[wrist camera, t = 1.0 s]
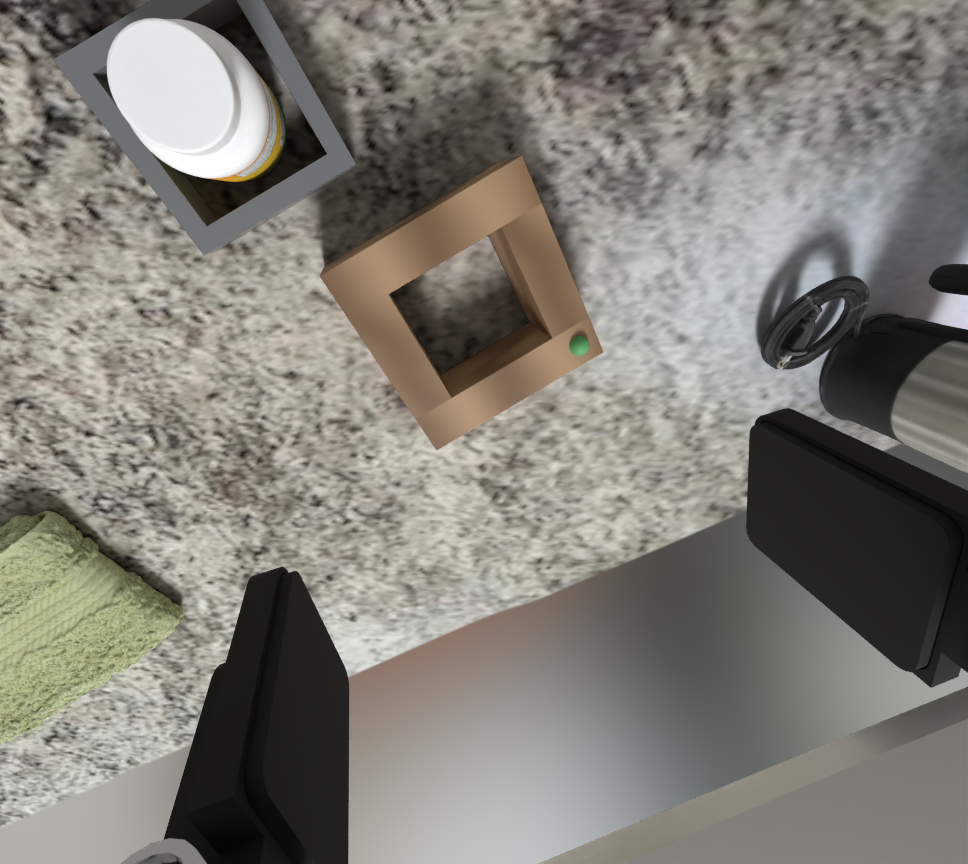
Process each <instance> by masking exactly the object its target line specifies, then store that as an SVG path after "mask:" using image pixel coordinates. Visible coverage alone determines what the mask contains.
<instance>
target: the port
mask: <svg viewBox="0 0 968 864" xmlns="http://www.w3.org/2000/svg"><path fill="white" fill-rule="evenodd" d="M487 235H488V237H489V239H490V241H491V243H492V245H493V247H494V249H495V251H496V253H497V255H498V257H499V259H500V262H501V264H502V266H503V268H504V270H505V272H506V274H507V276H508V278H509V280H510V282H511V284H512V287H513V289H514V291H515V293H516V295H517V297H518V299H519V301H520V303H521V305H522V307H523V309H524V312H525V314H526V316H527V318H528V320H529V322H530V323H528V324H526V325H524V326H523V327H521V328H519V329H518V330H516V331H514V332H513V333H511V334H509V335H508V336H506V337H504V338H502V339H501V340H499V341H497V342H496V343H494V344H492V345H491V346H489V347H487V348H486V349H484V350H482V351H480V352H479V353H477V354H475V355H474V356H472V357H470V358H469V359H467V360H465V361H464V362H462V363H460V364H459V365H457V366H455V367H453V368H452V369H450V370H448V371H447V372H445V373H443V374H442V375H440V373H439V372H438V370H437V368H436V367H435V365H434V364H433V362H432V360H431V359H430V357H429V355H428V354H427V352H426V350H425V349H424V347H423V346H422V344H421V342H420V341H419V339H418V337H417V336H416V334H415V332H414V331H413V329H412V327H411V326H410V324H409V323H408V321H407V319H406V318H405V316H404V314H403V313H402V311H401V309H400V308H399V306H398V304H397V303H396V301H395V300H394V298H393V296H392V295H391V293H392V292H393V291H395V290H397V289H398V288H400V287H402V286H403V285H405V284H407V283H408V282H410V281H412V280H413V279H415V278H417V277H418V276H420V275H422V274H423V273H425V272H427V271H428V270H430V269H432V268H434V267H435V266H437V265H439V264H440V263H442V262H444V261H445V260H447V259H449V258H450V257H452V256H454V255H455V254H457V253H459V252H460V251H462V250H464V249H465V248H467V247H469V246H471V245H472V244H474V243H476V242H477V241H479V240H481V239H482V238H484V237H486V236H487ZM320 277H321V279H322V280H323V282H324V283H325V285H326V286H327V288H328V289H329V291H330V292H331V294H332V295H333V297H334V298H335V300H336V301H337V303H338V304H339V305H340V307H341V308H342V310H343V311H344V313H345V314H346V316H347V317H348V319H349V320H350V322H351V323H352V325H353V326H354V328H355V329H356V331H357V332H358V334H359V335H360V337H361V338H362V340H363V341H364V343H365V344H366V346H367V347H368V349H369V350H370V352H371V353H372V355H373V356H374V358H375V359H376V361H377V362H378V364H379V365H380V367H381V368H382V370H383V371H384V373H385V374H386V376H387V377H388V379H389V380H390V382H391V383H392V385H393V386H394V388H395V389H396V391H397V392H398V394H399V395H400V396H401V398H402V399H403V401H404V402H405V404H406V405H407V407H408V408H409V410H410V411H411V413H412V414H413V416H414V417H415V419H416V420H417V422H418V423H419V425H420V426H421V428H422V429H423V431H424V432H425V434H426V435H427V437H428V438H429V440H430V441H431V443H432V444H433V446H434V447H435V449H436V450H438V449H440V448H441V447H443V446H445V445H447V444H448V443H450V442H452V441H453V440H455V439H457V438H458V437H460V436H462V435H464V434H465V433H467V432H469V431H470V430H472V429H474V428H475V427H477V426H479V425H480V424H482V423H484V422H486V421H487V420H489V419H491V418H492V417H494V416H496V415H497V414H499V413H501V412H503V411H504V410H506V409H508V408H509V407H511V406H513V405H514V404H516V403H518V402H520V401H521V400H523V399H525V398H526V397H528V396H530V395H531V394H533V393H535V392H537V391H538V390H540V389H542V388H543V387H545V386H547V385H548V384H550V383H552V382H553V381H555V380H557V379H559V378H560V377H562V376H564V375H565V374H567V373H569V372H570V371H572V370H574V369H576V368H577V367H579V366H581V365H582V364H584V363H586V362H587V361H589V360H591V359H593V358H594V357H596V356H598V355H599V354H601V353H603V350H602V347H601V345H600V343H599V340H598V338H597V335H596V333H595V331H594V328H593V326H592V323H591V321H590V318H589V316H588V314H587V311H586V309H585V306H584V304H583V302H582V299H581V297H580V294H579V292H578V289H577V287H576V285H575V282H574V280H573V277H572V275H571V273H570V270H569V268H568V265H567V263H566V261H565V258H564V256H563V253H562V251H561V248H560V246H559V244H558V241H557V239H556V236H555V234H554V232H553V229H552V227H551V224H550V222H549V220H548V217H547V215H546V212H545V210H544V207H543V205H542V203H541V200H540V198H539V195H538V193H537V191H536V188H535V186H534V183H533V181H532V179H531V176H530V174H529V171H528V169H527V166H526V164H525V162H524V159H523V157H522V156H518V157H515V158H511V159H507V160H503V161H500V162H498V163H496V164H495V165H493V166H491V167H490V168H488V169H486V170H485V171H483V172H481V173H480V174H478V175H476V176H475V177H473V178H471V179H470V180H468V181H466V182H465V183H463V184H461V185H459V186H458V187H456V188H454V189H453V190H451V191H449V192H448V193H446V194H444V195H443V196H441V197H439V198H438V199H436V200H434V201H433V202H431V203H429V204H428V205H426V206H424V207H423V208H421V209H419V210H418V211H416V212H414V213H413V214H411V215H409V216H408V217H406V218H404V219H403V220H401V221H399V222H398V223H396V224H394V225H392V226H391V227H389V228H387V229H386V230H384V231H382V232H381V233H379V234H377V235H376V236H374V237H372V238H371V239H369V240H367V241H366V242H364V243H362V244H361V245H359V246H357V247H356V248H354V249H352V250H351V251H349V252H347V253H346V254H344V255H342V256H341V257H339V258H337V259H336V260H334V261H332V262H331V263H329V264H327V265H325V266H324V268H323V270H322V273H321V275H320Z"/></svg>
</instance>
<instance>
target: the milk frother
mask: <svg viewBox="0 0 968 864" xmlns="http://www.w3.org/2000/svg"><path fill="white" fill-rule="evenodd" d="M929 284H930V285H931V287H933V288H934V289H936V290H938V291H941V292H945V293H952V294H960V295H968V265H967V264H950V265H944V266H940V267H939V268H937V269H936V270H935V271H934V272H933V273H932V275H931V277H930V278H929ZM841 297H842V298H844V300H845V304H844V310H843V312H842V314H841V316H840V318H839V319H838V321H837V322H836V324H835V325H834V326H833V327H832V328H831V329H830V330H829V331H828V332H827V333H826V334H825V335H824V336H823V337H822V338H821V339H820V340H818V341H817V342H816V343H814V344H813V345H811V346H810V347H808V348H805V347H806V345H807V344H808V342H809V340H810V338H811V335H812V333H813V329H814V327H815V324H816V323H815V320H816V318H817V316H818V315H819V313H820V312H822V308H821V306H822V305H823V304H824V303H826V302H828V301H830V300H833V299H836V298H841ZM868 298H869V290H868V287H867V286H866V285H865V284H864V282H863V281H862V280H861V279H859V278H857V277H854V276H844V277H839V278H836V279H833V280H830V281H828V282H825V283H823V284H821V285H819V286H818V287H816V288H814V289H812V290H811V291H809V292H808V293H806V294H805V295H803V296H802V297H800V298H799V299H798V300H796V301H795V302H794V303H793V304H791V305H790V306H789V307H788V308H787V309H786V310H785V311H784V312H783V313H782V314H781V315H780V316H779V317H778V318H777V319H776V320H775V321H774V322H773V324H772V325H771V326H770V328H769V329H768V331H767V333H766V335H765V337H764V339H763V342H762V347H761V355H762V358H763V359H764V361H765V362H766V363H767V364H769V365H770V366H772V367H773V368H775V369H779V370H783V369H787V370H788V369H794V368H798V367H802V366H804V365H806V364H808V363H810V362H812V361H813V360H815V359H816V358H818V357H819V356H821V355H822V354H824V353H825V352H826V351H827V350H829V349H830V348H831V347H832V346H833V345H834V344H835V343H837V342H838V341H839V340H840V339H841V338H842V337H843V336H844V335H845V333H846V332H847V331H848V330H849V329H850V328H851V326H852V325H853V324H854V322H855V321H856V323H855V327H854V328H853V329H852V330H851V331H850V332H849V333H848V334H846V336H845V337H844V338H842V340H841V341H840V342H839V343H838V344H837V346H836V348H835V349H834V350H833V351H832V353H831V356H830V358H829V359H828V361H827V363H826V365H825V367H824V370H823V374H822V377H821V383H820V394H821V400H822V403H823V406H824V408H825V409H826V410H827V412H828V413H830V414H831V415H832V416H834V417H836V418H838V419H841V420H849V421H853V422H855V423H857V424H860V425H862V426H865V427H867V428H870V429H872V430H874V431H877V432H879V433H881V434H884V435H886V436H888V437H891V438H893V439H895V440H897V441H899V442H901V443H903V444H907V445H908V446H911V447H913V448H915V449H917V450H919V451H921V452H923V453H925V454H927V455H930V456H932V457H934V458H936V459H938V460H941V461H943V462H945V463H947V464H949V465H951V466H954V467H956V468H958V469H960V470H962V471H965V472H967V473H968V330H966V329H961V328H955V327H950V326H946V325H941V324H938V323H933V322H928V321H924V320H920V319H915V318H905V317H903V316H899V315H895V314H884V315H879V316H875V317H872V318H870V319H868V320H866V321H864V322H863V323H862V320H863V318H864V315H865V313H866V310H867V305H868Z"/></svg>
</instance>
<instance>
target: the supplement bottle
mask: <svg viewBox="0 0 968 864" xmlns="http://www.w3.org/2000/svg"><path fill="white" fill-rule="evenodd" d="M107 77H108V83H109V87H110V91H111V93H112V96H113V98H114V100H115V103H116V105H117V107H118V108H119V110H120V112H121V113H122V115H123V116H124V117H125V119H126V120H127V121H128V122H129V124H130V126H131V128H132V129H133V131H134V132H135V134H136V135H137V136H138V138H139V139H140V140H141V141H142V143H143V144H144V145H145V146H146V147H147V148H148V149H149V150H150V151H151V152H152V153H153V154H154V155H155V156H157V157H158V158H159V159H160V160H162V161H163V162H165V163H166V164H168V165H169V166H171V167H173V168H175V169H177V170H179V171H181V172H184V173H187V174H190V175H193V176H197V177H201V178H208V179H215V180H222V181H229V182H249V181H253V180H256V179H259V178H261V177H263V176H265V175H266V174H267V173H269V172H270V171H271V170H272V169H273V168H274V167H275V166H276V165H277V163H278V162H279V160H280V158H281V156H282V153H283V150H284V146H285V139H286V129H285V122H284V117H283V114H282V111H281V108H280V106H279V104H278V102H277V100H276V98H275V96H274V94H273V93H272V91H271V90H270V88H269V87H268V86H267V84H266V83H265V82H264V81H263V79H262V78H261V77H260V75H259V74H258V73H257V72H256V70H255V69H254V68H253V66H252V65H251V64H250V63H249V61H248V60H247V59H246V58H245V57H244V56H243V55H242V53H241V52H240V51H239V50H238V49H237V48H236V47H235V46H234V45H232V44H231V43H230V42H229V41H228V40H227V39H225V38H224V37H223V36H221V35H220V34H218V33H217V32H215V31H213V30H212V29H210V28H208V27H206V26H203V25H201V24H198V23H195V22H191V21H187V20H182V19H161V18H146V19H142V20H138V21H135V22H133V23H131V24H129V25H127V26H126V27H125V28H123V29H122V30H121V31H120V32H119V33H118V34H117V35H116V37H115V39H114V40H113V42H112V44H111V46H110V49H109V52H108V58H107Z"/></svg>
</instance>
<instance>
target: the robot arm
mask: <svg viewBox="0 0 968 864" xmlns="http://www.w3.org/2000/svg"><path fill="white" fill-rule="evenodd" d="M746 530H747V534H748V537H749V539H750V541H751V542H752V543H753V544H754V546H755V547H757V548H758V549H759V550H760V551H761V552H763V553H764V554H765V555H766V556H767V557H769V558H770V559H771V560H772V561H773V562H774V563H776V564H777V565H778V566H779V567H780V568H781V569H783V570H784V571H785V572H786V573H788V574H789V575H790V576H791V577H792V578H793V579H794V580H796V581H797V582H798V583H799V584H800V585H802V586H803V587H804V588H805V589H806V590H807V591H809V592H810V593H811V594H812V595H813V596H815V597H816V598H817V599H818V600H819V601H820V602H822V603H823V604H824V605H825V606H826V607H828V608H829V609H830V610H831V611H832V612H833V613H835V614H836V615H837V616H838V617H839V618H841V619H842V620H843V621H844V622H845V623H846V624H848V625H849V626H850V627H851V628H852V629H854V630H855V631H856V632H857V633H858V634H859V635H861V636H862V637H863V638H864V639H865V640H867V641H868V642H869V643H870V644H871V645H872V646H874V647H875V648H876V649H877V650H879V651H880V652H881V653H882V654H883V655H884V656H886V657H887V658H888V659H889V660H890V661H891V662H893V663H894V664H895V665H896V666H898V667H899V668H901V669H903V670H905V671H909V672H913V673H914V674H915V675H916V676H917V677H919V678H920V679H921V680H922V681H924V682H925V683H926V684H927V685H928V686H929V687H931V688H932V687H934V686H936V685H939V684H941V683H944V682H946V681H949V680H951V679H954V678H956V677H958V676H959V672H960V669H961V668H962V669H964V670H965V671H966V672H968V491H967V490H965V489H963V488H961V487H959V486H956V485H954V484H952V483H950V482H948V481H946V480H943V479H941V478H939V477H937V476H935V475H933V474H930V473H928V472H926V471H924V470H922V469H920V468H918V467H915V466H913V465H911V464H909V463H907V462H905V461H903V460H900V459H898V458H896V457H894V456H892V455H889V454H887V453H885V452H883V451H881V450H879V449H877V448H875V447H872V446H870V445H868V444H866V443H864V442H862V441H859V440H857V439H855V438H853V437H851V436H849V435H847V434H844V433H842V432H840V431H838V430H836V429H834V428H831V427H829V426H827V425H825V424H823V423H821V422H818V421H816V420H814V419H812V418H810V417H808V416H806V415H803V414H801V413H799V412H797V411H795V410H792V409H789V408H787V409H782V410H778V411H775V412H772V413H769V414H766V415H762V416H760V417H759V418H757V420H756V422H755V425H754V426H753V427H752V428H751V430H750V439H749V467H748V494H747V523H746ZM348 786H349V682H348V676H347V672H346V669H345V666H344V664H343V662H342V660H341V658H340V656H339V654H338V652H337V650H336V648H335V646H334V644H333V642H332V640H331V638H330V635H329V633H328V631H327V629H326V627H325V625H324V623H323V621H322V619H321V617H320V615H319V613H318V611H317V609H316V607H315V605H314V603H313V601H312V598H311V596H310V594H309V592H308V590H307V588H306V586H305V584H304V582H303V580H302V578H301V576H300V574H299V573H298V572H297V571H293V572H290V573H288V571H287V570H286V569H285V568H284V567H280V568H276V569H273V570H270V571H267V572H264V573H260V574H257V575H254V576H252V577H250V579H249V581H248V584H247V587H246V591H245V595H244V598H243V602H242V606H241V609H240V613H239V617H238V620H237V624H236V627H235V631H234V635H233V638H232V642H231V646H230V649H229V653H228V656H227V660H226V663H223V664H220V665H219V666H218V667H217V668H216V669H215V671H214V674H213V676H212V678H211V682H210V685H209V688H208V692H207V695H206V698H205V702H204V705H203V709H202V712H201V715H200V719H199V722H198V725H197V729H196V732H195V736H194V739H193V742H192V746H191V749H190V752H189V756H188V759H187V763H186V766H185V769H184V773H183V776H182V779H181V783H180V786H179V789H178V793H177V796H176V800H175V803H174V807H173V810H172V813H171V816H170V820H169V823H168V827H167V830H166V833H165V837H164V840H161V841H158V842H155V843H151V844H149V845H148V846H146V847H144V848H143V849H141V850H139V851H138V852H136V853H134V854H132V855H131V856H130V857H128V858H127V859H126V860H125V861H124V862H123V863H121V864H348V802H349V797H348V796H349V787H348ZM539 864H968V687H966V688H964V689H961V690H959V691H957V692H954V693H951V694H949V695H947V696H944V697H942V698H939V699H937V700H934V701H932V702H929V703H927V704H924V705H922V706H919V707H917V708H914V709H912V710H910V711H907V712H905V713H902V714H900V715H897V716H895V717H892V718H890V719H887V720H885V721H882V722H880V723H877V724H875V725H873V726H870V727H867V728H865V729H863V730H860V731H858V732H855V733H853V734H850V735H848V736H846V737H843V738H841V739H838V740H836V741H833V742H831V743H829V744H826V745H824V746H821V747H819V748H816V749H814V750H811V751H809V752H806V753H804V754H802V755H799V756H797V757H794V758H792V759H790V760H787V761H785V762H782V763H780V764H777V765H775V766H772V767H770V768H768V769H765V770H763V771H760V772H758V773H755V774H753V775H751V776H748V777H746V778H743V779H741V780H738V781H736V782H734V783H731V784H729V785H726V786H724V787H722V788H719V789H717V790H714V791H712V792H709V793H707V794H704V795H702V796H700V797H697V798H695V799H693V800H690V801H687V802H685V803H683V804H680V805H678V806H675V807H673V808H671V809H668V810H666V811H663V812H661V813H659V814H656V815H654V816H651V817H649V818H647V819H644V820H642V821H639V822H637V823H635V824H633V825H630V826H628V827H626V828H623V829H620V830H618V831H616V832H613V833H611V834H608V835H606V836H604V837H601V838H599V839H596V840H594V841H592V842H589V843H587V844H584V845H582V846H580V847H577V848H575V849H573V850H570V851H568V852H565V853H563V854H561V855H558V856H556V857H553V858H551V859H549V860H546V861H544V862H542V863H539Z"/></svg>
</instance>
